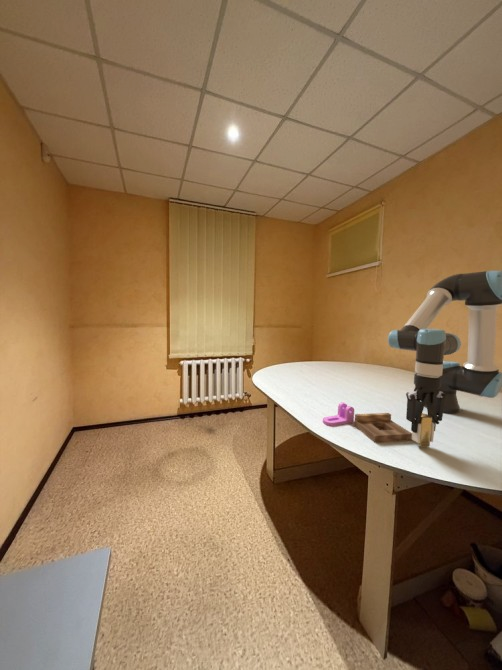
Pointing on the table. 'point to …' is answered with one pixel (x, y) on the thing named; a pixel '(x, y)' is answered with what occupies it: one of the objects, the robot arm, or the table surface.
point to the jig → (377, 421)
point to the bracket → (341, 416)
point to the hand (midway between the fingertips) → (422, 440)
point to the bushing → (425, 430)
